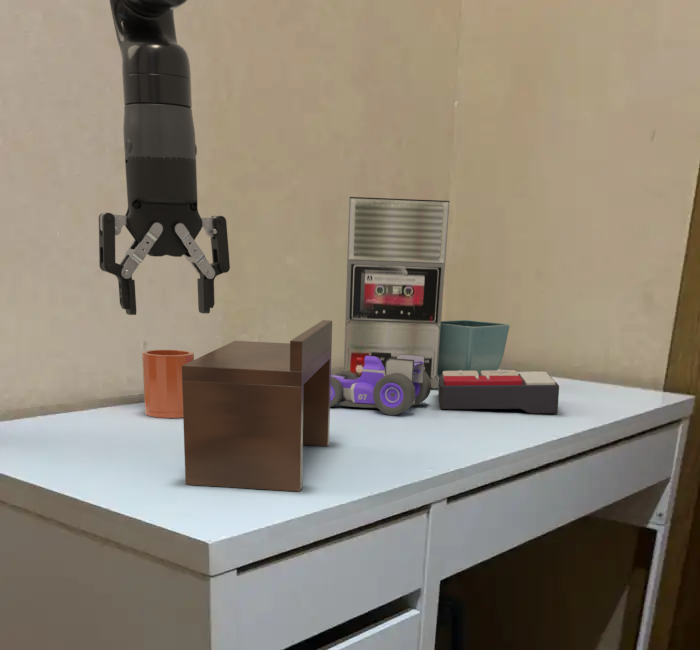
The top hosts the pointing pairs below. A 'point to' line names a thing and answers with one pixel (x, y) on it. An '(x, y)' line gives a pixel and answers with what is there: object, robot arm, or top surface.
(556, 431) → the top surface
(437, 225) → the cassette tape recorder
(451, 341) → the flower pot
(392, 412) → the toy race car
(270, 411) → the brown wooden bench
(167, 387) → the pot
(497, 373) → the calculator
